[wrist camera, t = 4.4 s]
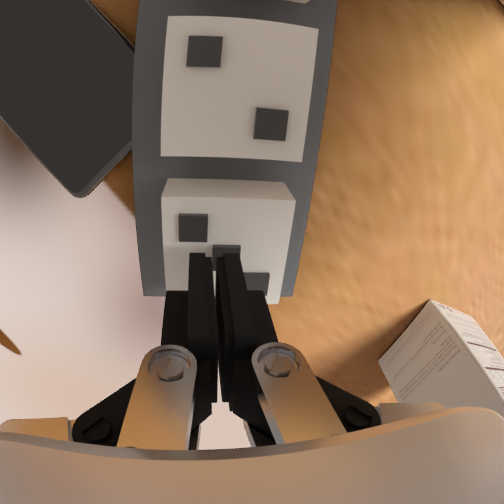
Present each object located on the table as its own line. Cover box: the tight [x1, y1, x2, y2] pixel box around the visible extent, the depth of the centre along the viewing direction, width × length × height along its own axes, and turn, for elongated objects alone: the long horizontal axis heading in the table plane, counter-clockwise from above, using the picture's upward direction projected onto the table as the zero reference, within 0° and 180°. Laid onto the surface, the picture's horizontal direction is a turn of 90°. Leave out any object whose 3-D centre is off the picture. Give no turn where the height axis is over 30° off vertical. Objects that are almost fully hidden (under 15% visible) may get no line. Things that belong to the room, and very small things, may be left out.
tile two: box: [161, 16, 319, 162], centre depth 10 cm, size 5×5×2 cm
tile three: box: [161, 178, 296, 304], centre depth 13 cm, size 5×5×2 cm
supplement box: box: [378, 300, 504, 418], centre depth 19 cm, size 7×7×13 cm
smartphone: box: [0, 0, 135, 198], centre depth 10 cm, size 7×1×16 cm
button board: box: [132, 0, 337, 297], centre depth 12 cm, size 21×8×2 cm, turn 174°
